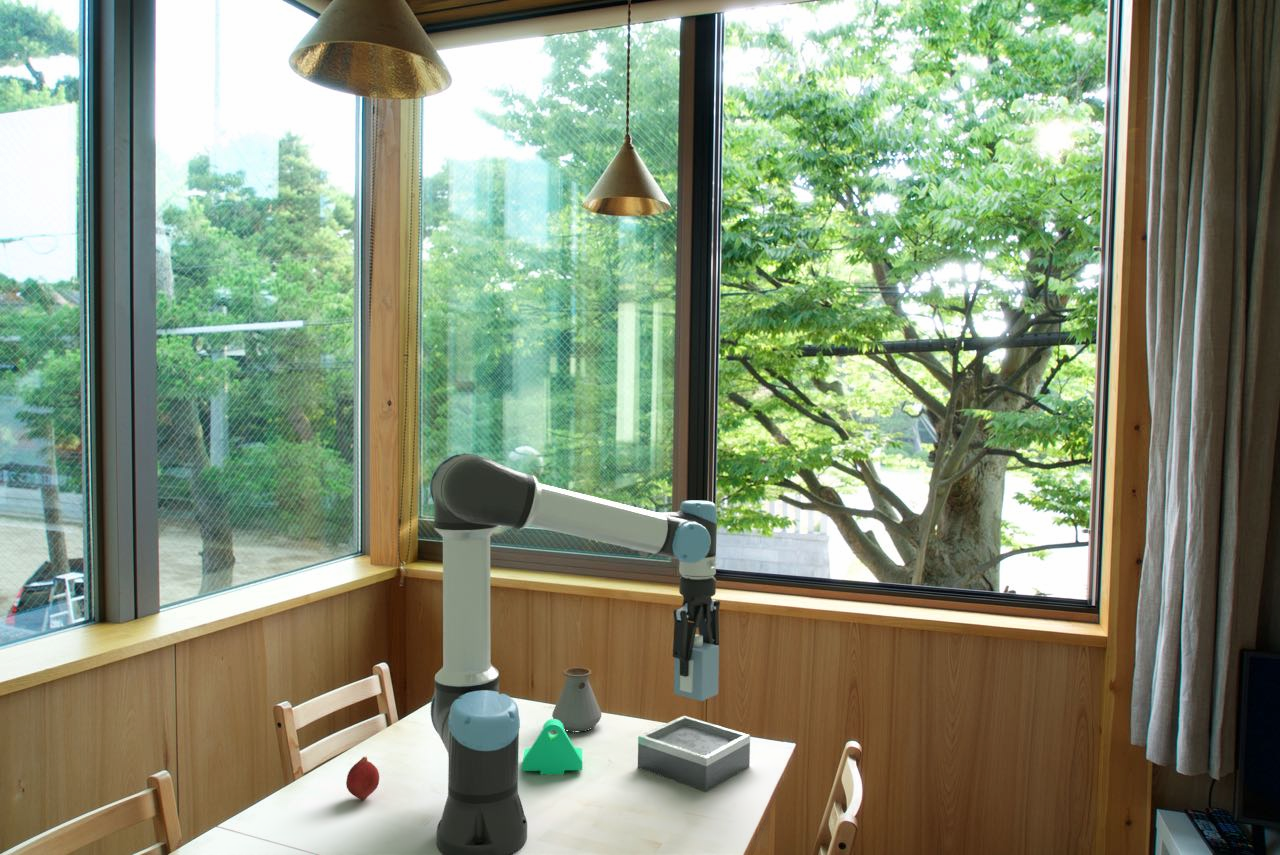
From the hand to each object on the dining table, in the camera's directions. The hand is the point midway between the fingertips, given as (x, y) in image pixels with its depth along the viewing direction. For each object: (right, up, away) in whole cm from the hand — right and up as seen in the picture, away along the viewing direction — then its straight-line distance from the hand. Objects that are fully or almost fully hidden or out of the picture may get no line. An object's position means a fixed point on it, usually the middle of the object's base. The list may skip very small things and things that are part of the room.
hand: (695, 686), depth 171 cm
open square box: (0, -17, 0) cm, 17 cm away
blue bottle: (0, -1, 0) cm, 1 cm away
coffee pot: (-26, -16, +17) cm, 35 cm away
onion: (-63, -16, -17) cm, 67 cm away
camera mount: (-30, -16, -1) cm, 34 cm away
